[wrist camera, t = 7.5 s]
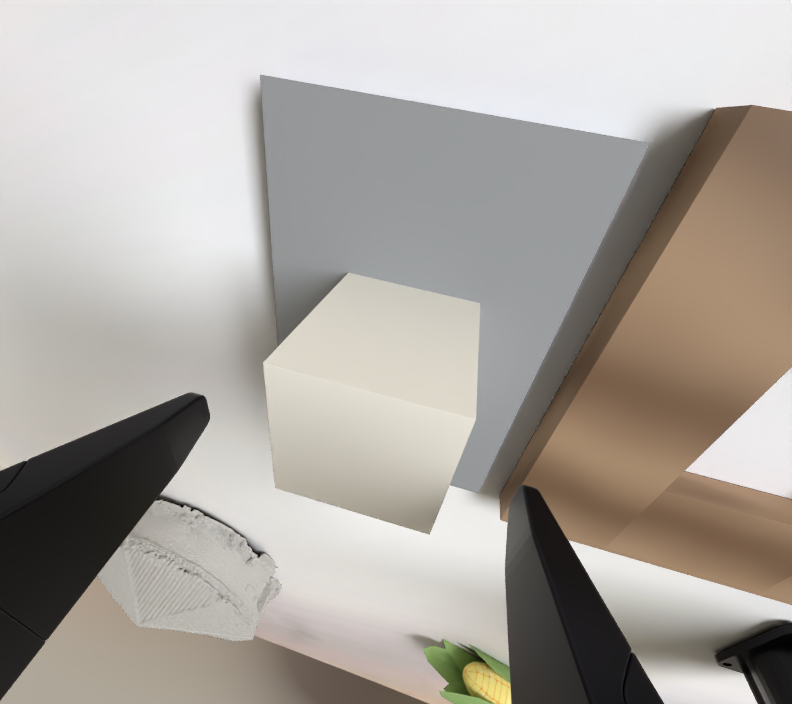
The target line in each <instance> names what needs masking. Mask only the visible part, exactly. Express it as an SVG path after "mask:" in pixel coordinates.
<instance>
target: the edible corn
mask: <svg viewBox="0 0 792 704" xmlns="http://www.w3.org/2000/svg"><path fill="white" fill-rule="evenodd" d="M443 641H444V645H445V649H444V648H440V647H436V646H431V647H427V648H424V649H423V650H424V653H425V655H426V658H427V660H428V662H429V663H430V664H431V665H432V666H433V667H434V668H435V669H436V670H437V671H438V673H439V674H440V675H441V676H442V677H443V678H444V679H445V680H446V681H447V682H448V683H449V684H448V685H447V686H446V687H445V688H444V690H445V691H447V692H445V691H439V692H440V694H441V696H442V697H444V698H445V699H447V700H449V701H450V702H452V703H454V704H511V686H510V668H509V667H508V666H506V665H504V664H502V663H501V662H499V661H497V660H495V659H494V658H492V657H490V656H489V655H487V654H485V653H483V652H482V651H480V650H478V649H476V648H475V647H473V646H471V645H470V646H471V647H472V648H473V649H474V650H475V651H476V652H477V653H478V654H476V653H475V652H473V651H471V650H470V651H471V652H473V653H474V654H476V655H477V656H479V657H480V658H481V659H483V660H484V661H485V662H486V663H485V662H483V661H481V660H479V659H478V658H476V657H474V656H472V655H471V654H469V653H467V652H465V651H464V650H462V649H460V648H458V647H456V646H455V645H453V644H451V643H449V642H448V641H446V640H444V639H443ZM458 644H459V643H458ZM463 647H464V646H463ZM465 648H466V647H465ZM467 649H468V648H467ZM468 650H469V649H468Z"/></svg>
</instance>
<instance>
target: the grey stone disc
mask: <svg viewBox="0 0 792 704" xmlns="http://www.w3.org/2000/svg"><path fill="white" fill-rule="evenodd" d="M257 556H258V555H257V554H255V553H253V551H252V548H251V547H249V546H247V541H246V539H245V538H243V537H241V536H240V534H237V533H235V532H234V531H233V530H232V529H231V528H229V527H227V526H225V525H224V524H222V523H220V522H218V521H215V520H213V519H211V518H209V517H207V516H204V515H203V513H202V512H200V511H198V510H193V511H191V508H190V507H187V506H186V505H185V506H184V507H183V508H182V507H180V506H178V505H175V504H173V503H169V502H167V501H163V500H159V501H157V500H155V501H154V503H153V504H152V505H151V507H150V508H149V509H148V510H147V512H146V513H145V514H144V516H143V517H142V518H141V519H140V521H139V522H138V523H137V525H136V526H135V527H134V528H133V530H132V531H131V532H130V534H129V535H128V536H127V537H126V539H125V540H124V541H123V543H122V544H121V545H120V547H119V548H118V549H117V550H116V552H115V553H114V554H113V556H112V557H111V558H110V559H109V561H108V562H107V563H106V565H105V566H104V567H103V568H102V570H101V571H100V572H99V574H98V575H97V577H98V579H99V580H100V581H101V582H102V583H103V585H104V586H105V587H106V589H107V591H108V592H109V593H110V594H111V596H112V597H113V598H114V600H115V601H116V602H117V603H118V604H120V606H121V607H122V608H123V610H124V611H125V612H126V614H127V615H128V616H129V617H130V618H131V619H132V621H133V622H134V623H135V624H136V625H137V626H140V627H150V628H152V627H155V628H161V629H168V630H169V629H173V630H178V631H184V632H190V633H192V632H193V633H196V634H202V635H204V634H205V635H210V636H216V637H217V638H218V637H219V638H220V637H223V639H225V638H226V639H227V640H228V639H229V640H230V641H232V640H233V641H240V640H244V641H246V640H253V636H254V634H255V631H256V627H257V624H258V622H259V621H260V619H261V616H262V614H263V612H264V610H265V607H266V605H267V603H268V601H269V600H272V599H273V598H275V596H276V595H277V594H278V593H279V591H280V590H281V588H282V587H281V586H282V584H281V583H280V582H279V581H278V579H275V578H273V577H272V576H273V574H274V572H275V573H276V571H275V568H278V567H277V566H276V565H275V562H274V561H273V559H271V558H270V556H269V555H266V554H261V555H260V557H258V558H257Z"/></svg>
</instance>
